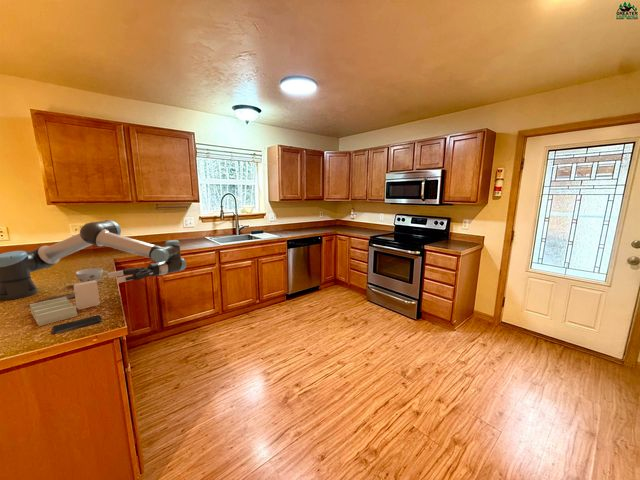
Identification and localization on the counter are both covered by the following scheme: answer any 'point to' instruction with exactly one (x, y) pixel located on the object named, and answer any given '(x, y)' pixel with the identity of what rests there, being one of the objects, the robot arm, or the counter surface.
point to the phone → (76, 324)
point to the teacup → (90, 274)
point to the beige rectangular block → (86, 294)
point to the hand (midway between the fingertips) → (112, 277)
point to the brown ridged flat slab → (54, 298)
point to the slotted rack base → (53, 310)
